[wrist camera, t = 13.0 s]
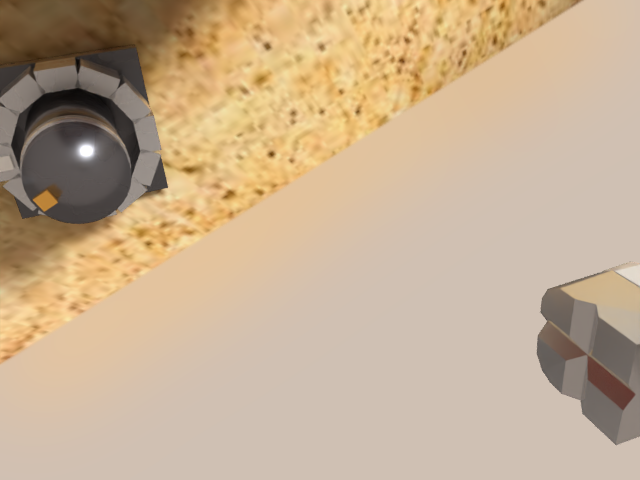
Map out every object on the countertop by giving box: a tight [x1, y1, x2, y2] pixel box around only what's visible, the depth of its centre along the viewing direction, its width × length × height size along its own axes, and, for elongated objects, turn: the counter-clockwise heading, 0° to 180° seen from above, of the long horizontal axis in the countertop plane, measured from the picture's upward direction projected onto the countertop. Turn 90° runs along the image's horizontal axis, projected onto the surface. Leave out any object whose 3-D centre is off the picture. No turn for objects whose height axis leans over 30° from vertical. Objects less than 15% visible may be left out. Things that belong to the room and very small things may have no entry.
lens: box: [20, 89, 132, 224], centre depth 33 cm, size 5×5×8 cm
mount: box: [0, 45, 168, 219], centre depth 36 cm, size 9×9×4 cm
